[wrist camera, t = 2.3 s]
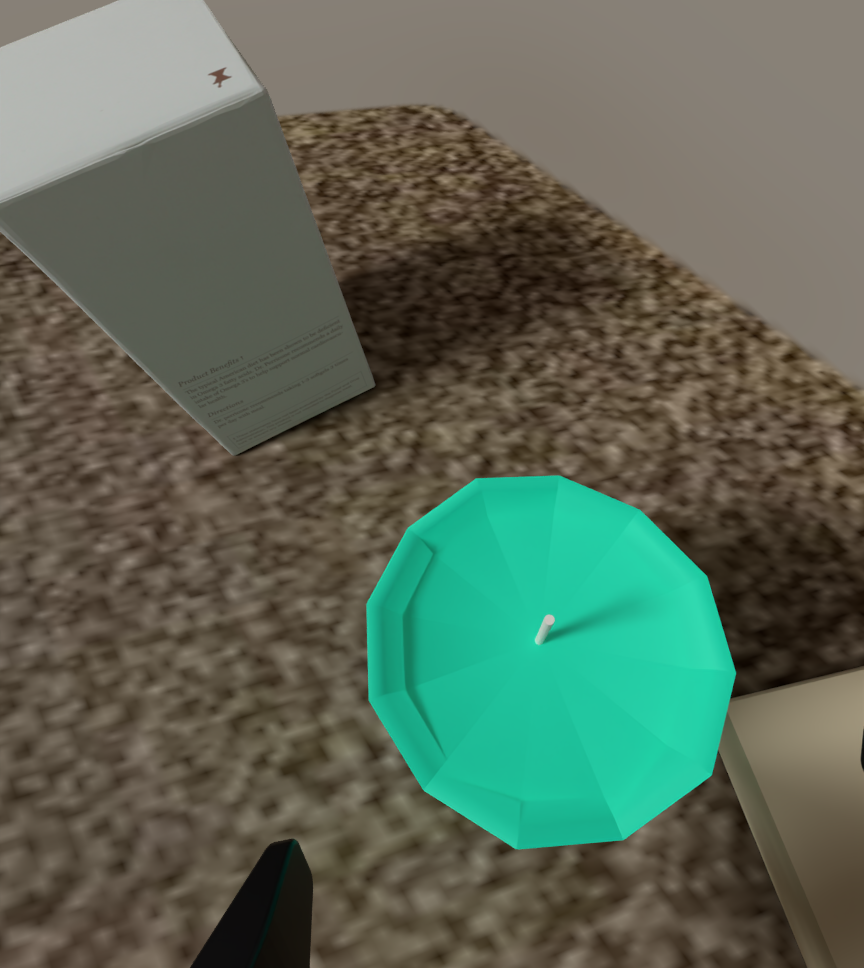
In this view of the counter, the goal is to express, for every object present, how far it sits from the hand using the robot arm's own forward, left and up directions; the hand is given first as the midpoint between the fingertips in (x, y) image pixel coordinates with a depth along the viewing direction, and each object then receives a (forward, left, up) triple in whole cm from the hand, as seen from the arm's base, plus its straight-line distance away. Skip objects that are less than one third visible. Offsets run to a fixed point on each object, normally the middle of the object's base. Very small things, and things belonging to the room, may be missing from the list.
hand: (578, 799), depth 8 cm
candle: (+2, 0, -10) cm, 10 cm away
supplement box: (+18, +7, -10) cm, 22 cm away
